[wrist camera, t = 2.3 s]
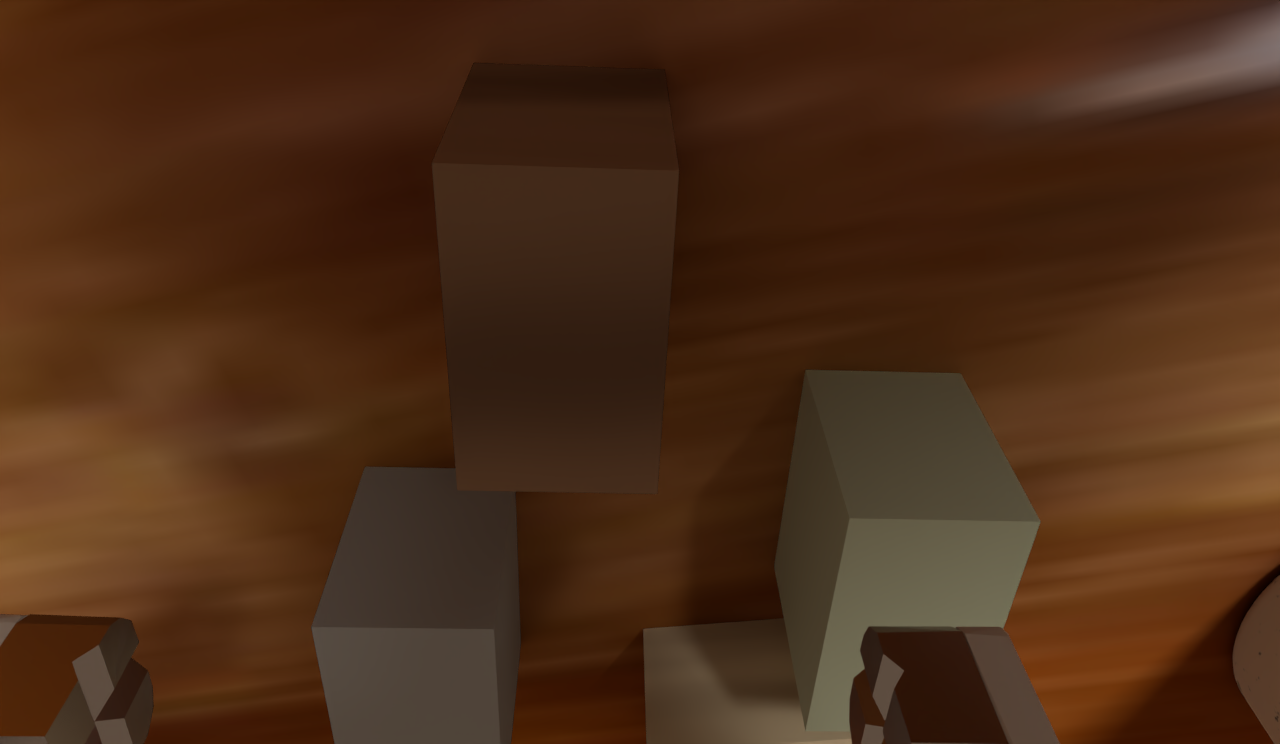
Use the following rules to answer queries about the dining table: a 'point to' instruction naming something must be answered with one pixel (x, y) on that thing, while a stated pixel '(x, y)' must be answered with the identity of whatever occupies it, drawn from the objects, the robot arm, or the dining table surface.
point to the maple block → (724, 686)
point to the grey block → (422, 613)
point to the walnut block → (557, 276)
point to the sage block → (891, 523)
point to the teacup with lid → (1261, 659)
